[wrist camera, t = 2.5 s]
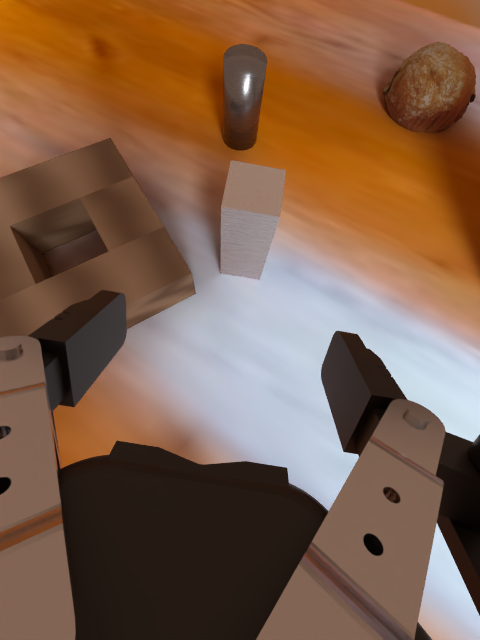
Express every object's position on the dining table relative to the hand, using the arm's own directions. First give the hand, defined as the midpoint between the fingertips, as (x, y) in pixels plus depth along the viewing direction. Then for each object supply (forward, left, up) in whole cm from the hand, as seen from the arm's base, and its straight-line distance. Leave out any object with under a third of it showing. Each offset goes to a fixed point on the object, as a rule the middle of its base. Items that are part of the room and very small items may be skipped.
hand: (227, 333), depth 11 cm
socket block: (+6, -16, -16) cm, 23 cm away
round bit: (-16, -23, -16) cm, 32 cm away
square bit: (-8, -9, -16) cm, 20 cm away
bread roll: (-40, -17, -16) cm, 46 cm away
